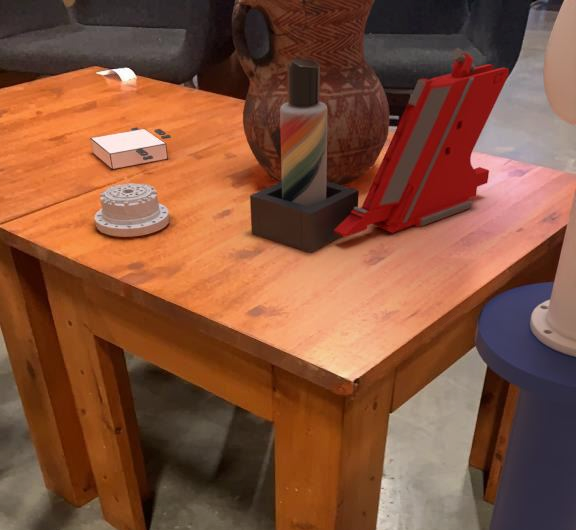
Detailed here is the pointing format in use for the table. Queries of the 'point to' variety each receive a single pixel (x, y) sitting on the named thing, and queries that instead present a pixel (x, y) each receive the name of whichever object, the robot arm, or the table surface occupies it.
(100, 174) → the table surface
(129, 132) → the container
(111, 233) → the mechanical component
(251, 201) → the holder
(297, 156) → the lotion bottle
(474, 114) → the tool
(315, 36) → the jug
